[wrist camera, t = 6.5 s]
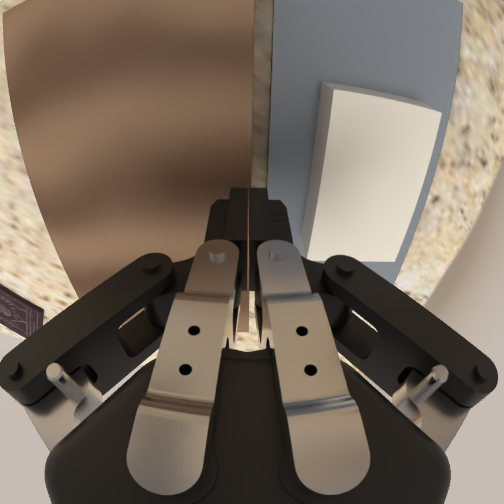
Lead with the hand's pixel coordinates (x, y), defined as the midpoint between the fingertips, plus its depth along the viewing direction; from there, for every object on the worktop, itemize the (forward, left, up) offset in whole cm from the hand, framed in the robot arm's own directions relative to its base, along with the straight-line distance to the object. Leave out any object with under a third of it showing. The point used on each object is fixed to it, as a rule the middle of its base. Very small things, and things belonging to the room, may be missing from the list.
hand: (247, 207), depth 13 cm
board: (0, -6, -6) cm, 8 cm away
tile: (0, +7, -4) cm, 8 cm away
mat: (0, +7, -6) cm, 9 cm away
